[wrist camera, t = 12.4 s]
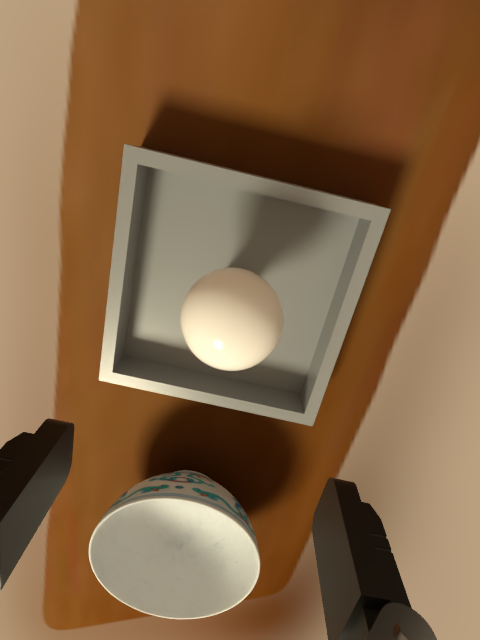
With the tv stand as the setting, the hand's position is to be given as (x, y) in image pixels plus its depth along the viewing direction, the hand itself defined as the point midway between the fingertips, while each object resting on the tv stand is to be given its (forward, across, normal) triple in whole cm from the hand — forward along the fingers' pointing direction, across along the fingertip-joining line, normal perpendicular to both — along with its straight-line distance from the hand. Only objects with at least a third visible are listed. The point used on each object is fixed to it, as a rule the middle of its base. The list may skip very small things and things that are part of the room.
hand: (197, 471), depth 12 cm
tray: (+22, 0, +1) cm, 22 cm away
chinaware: (+22, 0, +24) cm, 33 cm away
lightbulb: (+21, 0, 0) cm, 21 cm away
